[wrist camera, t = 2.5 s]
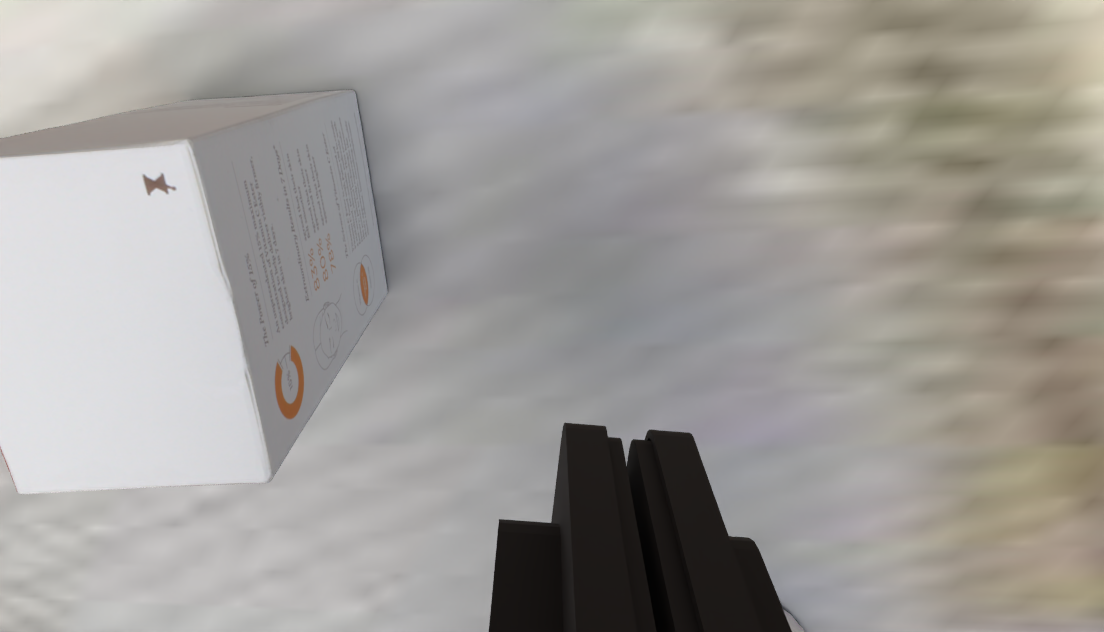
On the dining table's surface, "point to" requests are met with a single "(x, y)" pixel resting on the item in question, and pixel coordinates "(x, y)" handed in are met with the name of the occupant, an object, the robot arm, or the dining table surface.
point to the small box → (180, 288)
